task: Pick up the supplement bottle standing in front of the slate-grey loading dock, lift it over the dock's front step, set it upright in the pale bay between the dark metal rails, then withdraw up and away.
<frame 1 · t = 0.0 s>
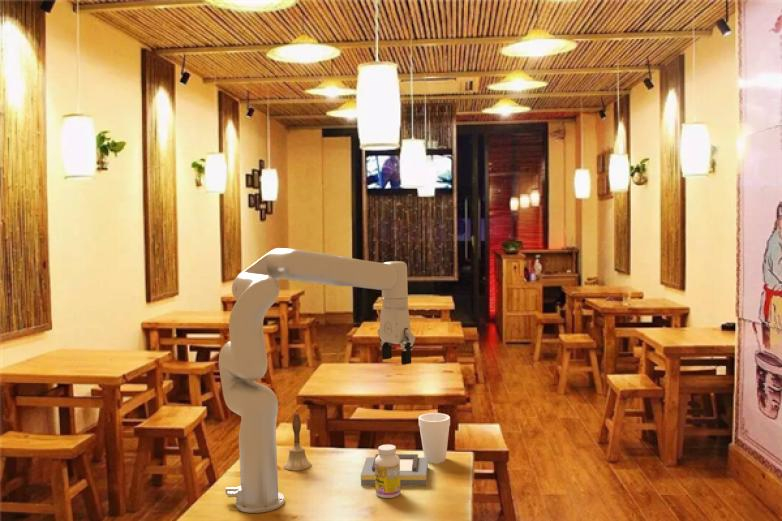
hand: (396, 361, 213), 31 cm above the table, tool pointing down, fingers open, 9 cm apart
bay rails: (395, 462, 208), on the loading dock, point 3 cm above the table
foam cup: (435, 460, 219), on the table
loading dock: (395, 476, 206), on the table
hand bell: (297, 466, 217), on the table
supplement bottle: (388, 494, 193), on the table
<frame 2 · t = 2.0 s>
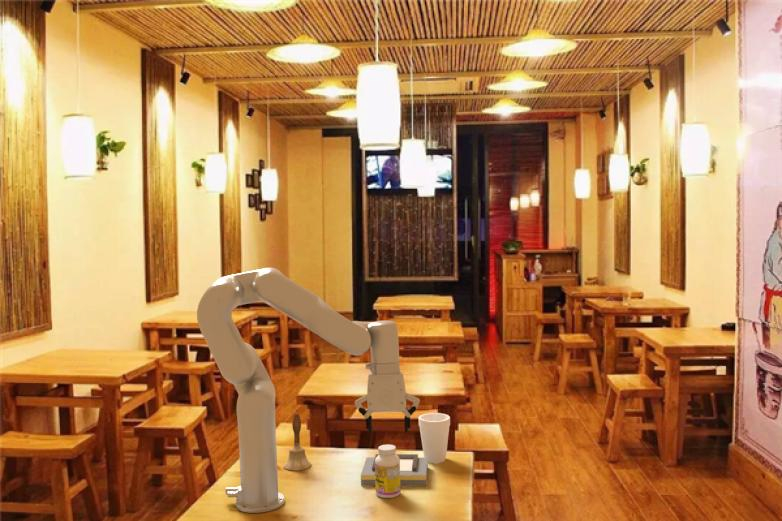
hand: (388, 431, 192), 17 cm above the table, tool pointing down, fingers open, 9 cm apart
nothing on the table moved.
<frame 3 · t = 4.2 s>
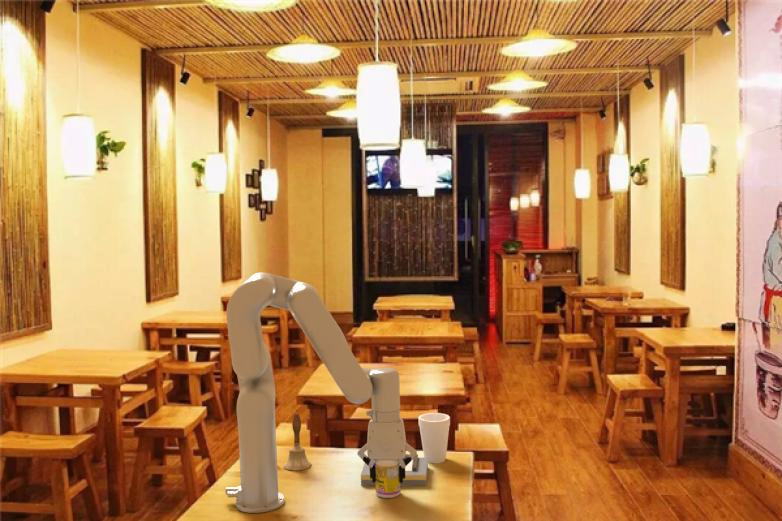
hand: (387, 480, 193), 4 cm above the table, tool pointing down, fingers closed on supplement bottle, 6 cm apart
supplement bottle: (388, 494, 193), on the table, touching gripper
everything else where it was.
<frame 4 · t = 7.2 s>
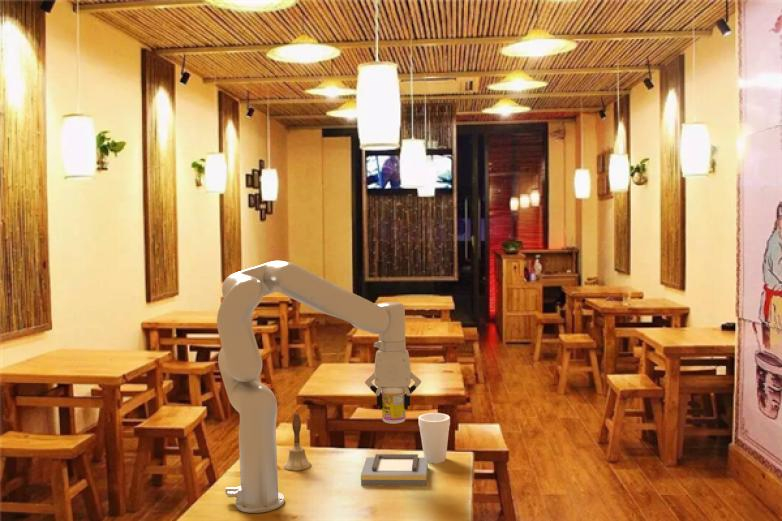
hand: (393, 407, 206), 20 cm above the table, tool pointing down, fingers closed on supplement bottle, 6 cm apart
supplement bottle: (394, 421, 206), point 16 cm above the table, touching gripper
everything else where it was.
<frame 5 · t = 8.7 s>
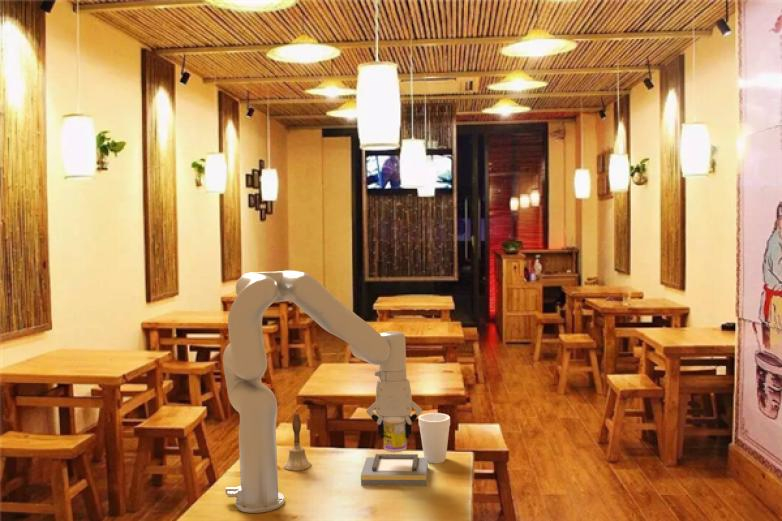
hand: (395, 436, 206), 11 cm above the table, tool pointing down, fingers closed on supplement bottle, 6 cm apart
supplement bottle: (395, 450, 207), point 7 cm above the table, touching gripper
everything else where it was.
when the fingers open (8 cm above the table, at t = 10.3 s): supplement bottle drops 1 cm, resting on loading dock.
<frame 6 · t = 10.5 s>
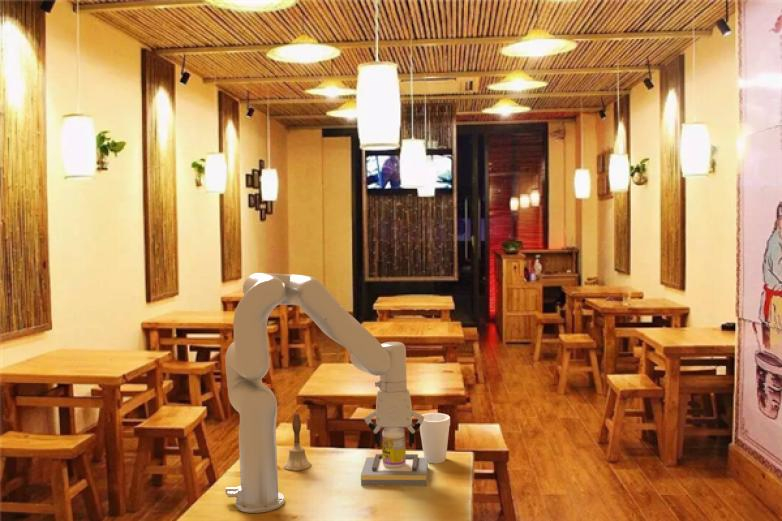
hand: (394, 445, 207), 9 cm above the table, tool pointing down, fingers open, 8 cm apart
supplement bottle: (394, 465, 207), point 3 cm above the table, touching loading dock
everything else where it was.
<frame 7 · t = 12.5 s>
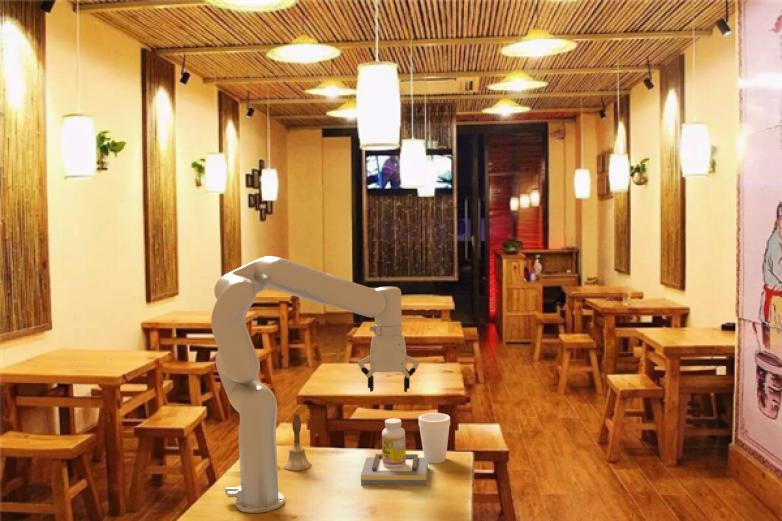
hand: (388, 390, 205), 25 cm above the table, tool pointing down, fingers open, 9 cm apart
nothing on the table moved.
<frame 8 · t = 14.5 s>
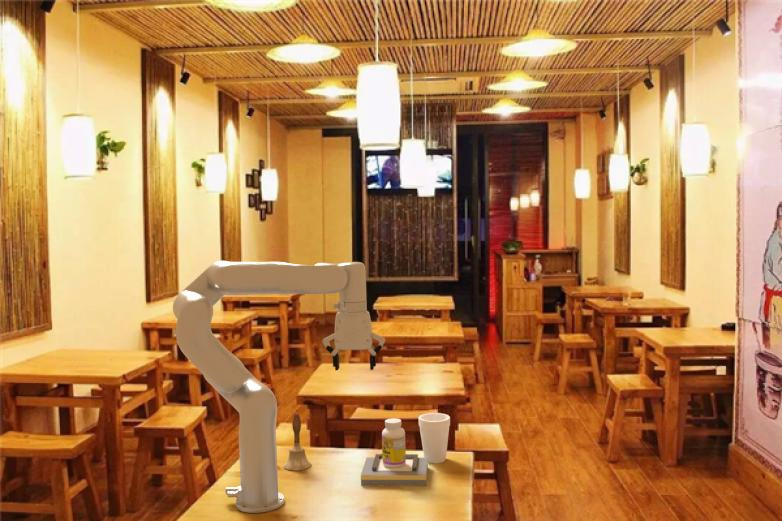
hand: (354, 369, 199), 32 cm above the table, tool pointing down, fingers open, 9 cm apart
nothing on the table moved.
at the end: supplement bottle 0.4 cm from the target spot on the loading dock, point 2.9 cm above the loading dock's base; supplement bottle tilted 0°; the gripper is holding nothing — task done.
